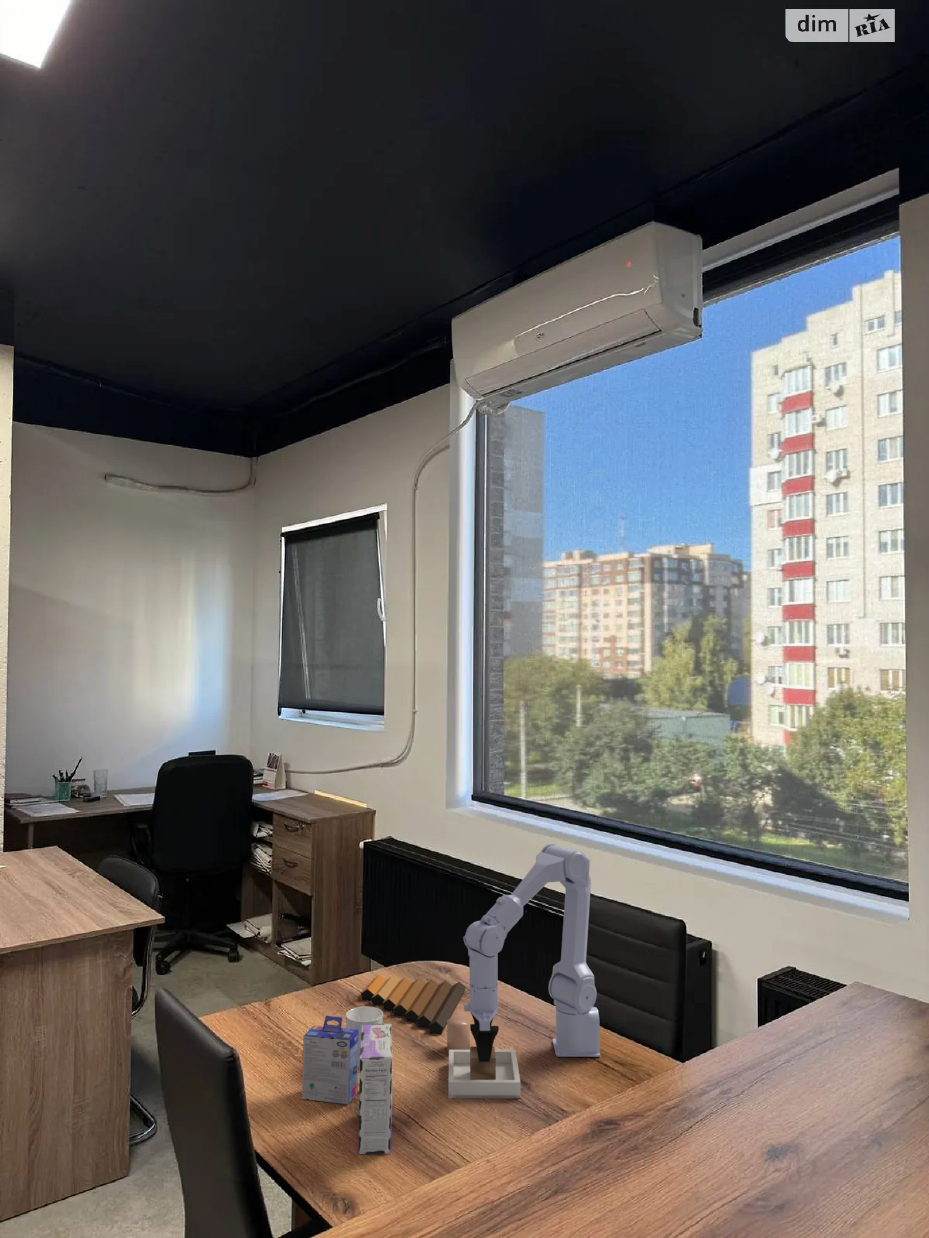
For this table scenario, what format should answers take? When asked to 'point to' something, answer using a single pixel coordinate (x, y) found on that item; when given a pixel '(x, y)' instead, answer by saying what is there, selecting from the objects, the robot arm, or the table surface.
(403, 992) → the pan flute
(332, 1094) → the ink cartridge box
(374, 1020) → the white cup
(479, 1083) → the off-white tray
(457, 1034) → the beige rounded cylinder
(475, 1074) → the walnut cube
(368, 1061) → the candy box
